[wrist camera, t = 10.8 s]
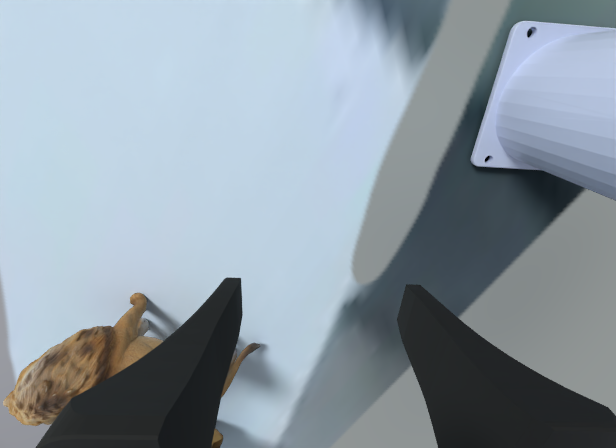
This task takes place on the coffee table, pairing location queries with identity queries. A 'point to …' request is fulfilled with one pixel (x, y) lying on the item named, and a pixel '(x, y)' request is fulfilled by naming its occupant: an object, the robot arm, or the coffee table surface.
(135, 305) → the lion figurine
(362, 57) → the coffee table surface
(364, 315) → the coffee table surface
